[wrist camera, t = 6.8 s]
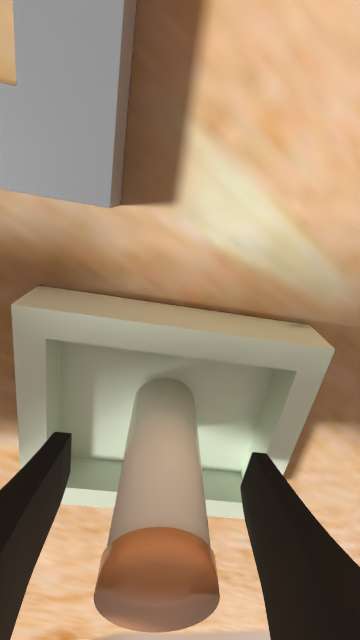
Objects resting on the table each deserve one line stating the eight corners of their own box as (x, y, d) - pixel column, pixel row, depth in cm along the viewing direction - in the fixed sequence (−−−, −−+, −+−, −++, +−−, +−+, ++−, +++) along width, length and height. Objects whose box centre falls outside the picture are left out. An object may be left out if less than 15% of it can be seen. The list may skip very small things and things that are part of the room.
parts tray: (41, 460, 17) (22, 500, 15) (38, 285, 13) (10, 304, 11) (252, 480, 18) (264, 520, 16) (309, 324, 14) (335, 349, 12)
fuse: (132, 427, 15) (97, 633, 8) (131, 374, 14) (90, 561, 7) (193, 429, 15) (213, 632, 8) (199, 377, 14) (226, 563, 7)
